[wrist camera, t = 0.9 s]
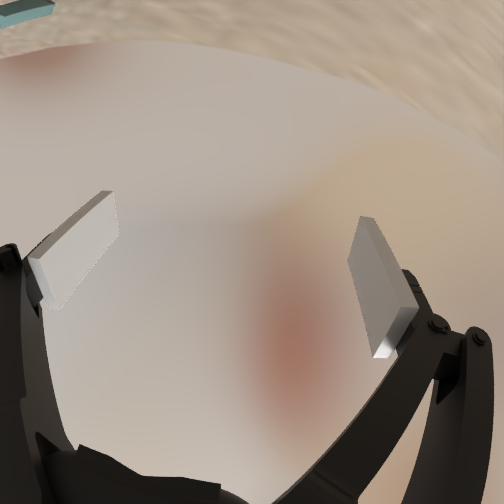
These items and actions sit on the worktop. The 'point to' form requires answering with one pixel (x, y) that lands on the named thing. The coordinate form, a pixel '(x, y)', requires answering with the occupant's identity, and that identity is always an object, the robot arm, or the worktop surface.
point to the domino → (23, 11)
